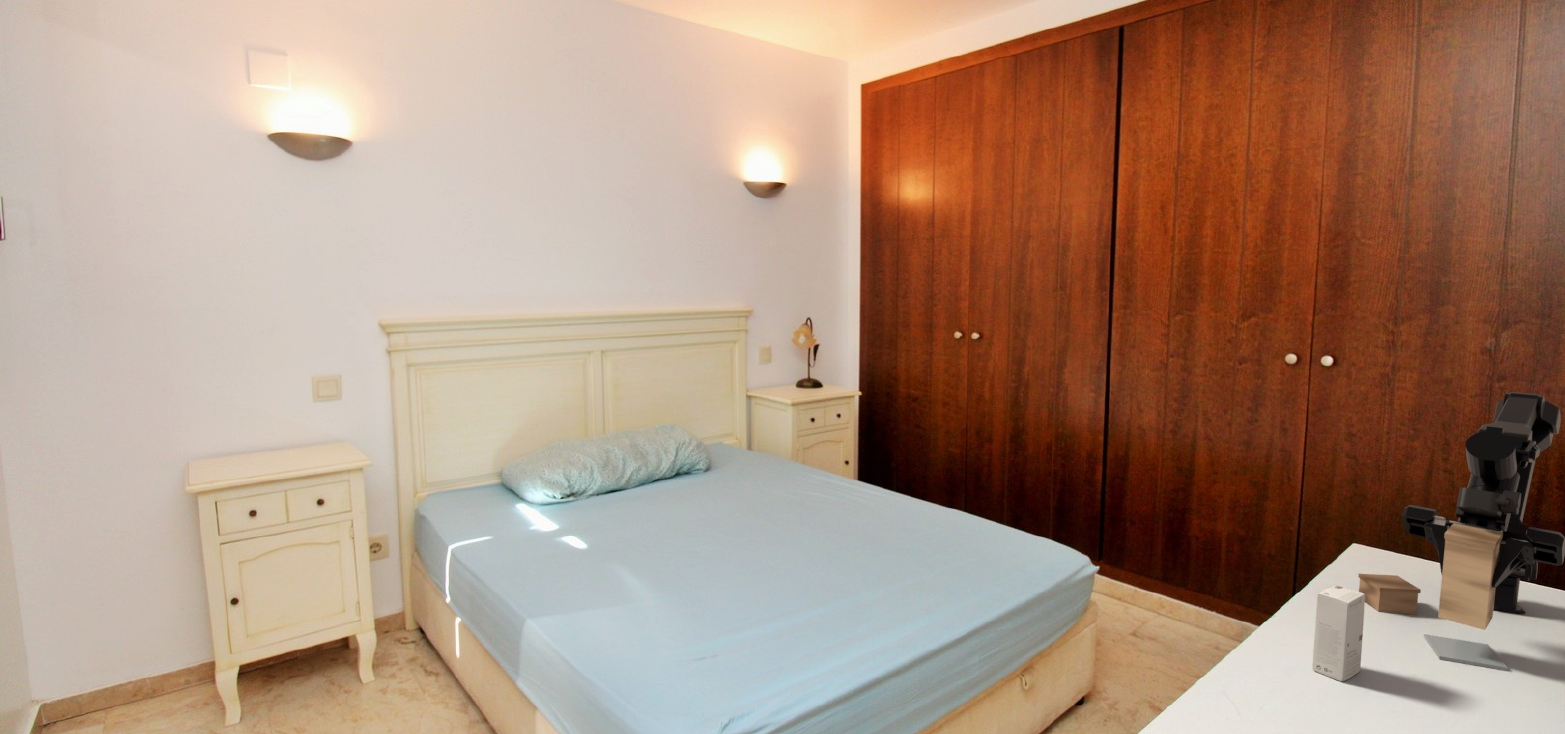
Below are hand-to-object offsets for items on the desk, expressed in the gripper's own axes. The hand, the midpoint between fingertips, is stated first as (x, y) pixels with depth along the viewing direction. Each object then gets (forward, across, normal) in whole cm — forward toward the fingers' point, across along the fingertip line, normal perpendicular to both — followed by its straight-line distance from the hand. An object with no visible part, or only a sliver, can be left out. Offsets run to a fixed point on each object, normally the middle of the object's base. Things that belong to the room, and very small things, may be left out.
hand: (1467, 580), depth 118 cm
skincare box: (+23, -11, -6) cm, 26 cm away
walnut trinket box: (-1, -12, +18) cm, 22 cm away
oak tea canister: (+4, 0, +6) cm, 7 cm away
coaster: (+8, 0, +10) cm, 12 cm away
